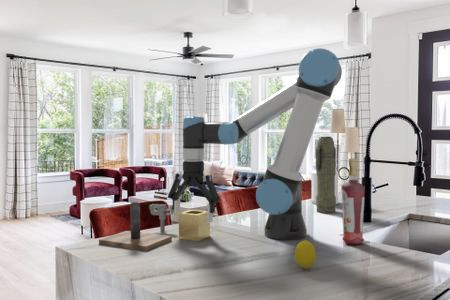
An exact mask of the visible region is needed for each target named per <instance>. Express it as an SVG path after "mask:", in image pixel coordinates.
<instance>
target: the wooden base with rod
mask: <svg viewBox="0 0 450 300" xmlns="http://www.w3.org/2000/svg"><path fill="white" fill-rule="evenodd" d="M129 205H130V206H129V208H130V209H129V211H130V217H129V218H130V230H125V231H121V232H118V233H115V234H112V235H109V236H106V237H103V238H99V239H98V244H99V245H101V246H103V245H104V246H109V247H110V246H111V247H116V248H124V249H130V250H137V251H141V252H142V251H143V252H148V251H150V250H153V249H155V248H157V247H160V246H162V245H165V244H167V243H170V242H172V239H173V238H172V237H173V236H171V235H163V234H156V233H147V232H141V205H140V203H139V201H132V202H131V203H130V204H129Z"/></svg>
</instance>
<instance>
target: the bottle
mask: <svg viewBox="0 0 450 300" xmlns="http://www.w3.org/2000/svg"><path fill="white" fill-rule="evenodd" d="M311 166H312V168H313V170H312V171H311V173H310V174H311V200H310V201H311V203H312V204H313V205H316V197H317V174H316V157H314V159H313V161H312V164H311ZM338 166H339V165H338V162H337V161H336V168H337V167H338ZM335 197H336V205H338V204H339V201H340V200H339V171H338V170H337V169H336V174H335Z"/></svg>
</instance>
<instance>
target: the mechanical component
mask: <svg viewBox="0 0 450 300" xmlns="http://www.w3.org/2000/svg"><path fill="white" fill-rule="evenodd" d="M148 209H149V210H150V214H151V215H152V216H158V217H159V218H158V219H159V220H160V221H159V223H160V224H159V225H160V226H159V227H160V230H159V231H160V232H164V231H165V230H166V229H165V223H166V222H165V220H166V219H167V218H166V216H171V215H174V209H173V204H171V205H170V207H169V208H168V206H167V203H165V204H164V203H152V204H149V205H148Z"/></svg>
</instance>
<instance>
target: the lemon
mask: <svg viewBox="0 0 450 300" xmlns="http://www.w3.org/2000/svg"><path fill="white" fill-rule="evenodd" d="M294 258H295V259H294V260H295V262H296V264H297V265H298V266H300V267H301V268H303V269H304V270H307V269H308V268H310V267H312V266H313V265H314V264H315V262H316V258H317V254H316V248H315V246H314V245H313V244H312V243H311V242H310V241H308V240H307V239H303V240H302V241H300V242H298V243H297V245H296V247H295V250H294Z"/></svg>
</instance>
